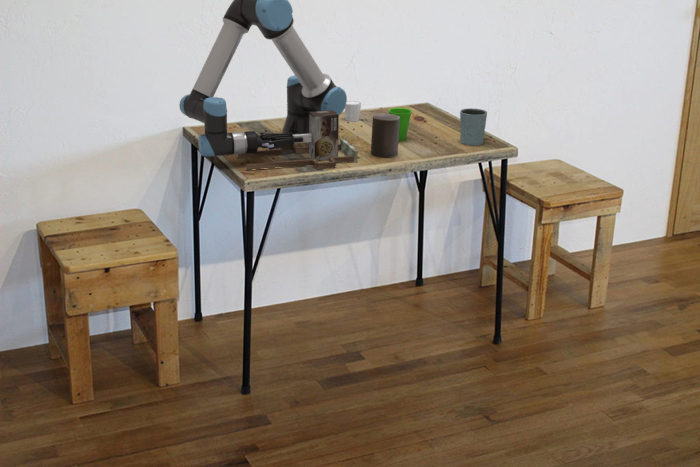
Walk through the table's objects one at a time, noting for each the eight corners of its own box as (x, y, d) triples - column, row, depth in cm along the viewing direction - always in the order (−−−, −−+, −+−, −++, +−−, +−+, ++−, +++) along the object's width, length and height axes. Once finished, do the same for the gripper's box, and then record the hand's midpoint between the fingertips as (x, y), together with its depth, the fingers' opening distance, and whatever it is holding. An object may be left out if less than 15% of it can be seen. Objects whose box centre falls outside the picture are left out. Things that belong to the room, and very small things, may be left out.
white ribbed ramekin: (363, 119, 371) (364, 102, 369) (354, 122, 366) (355, 105, 363) (349, 116, 375) (349, 99, 372) (340, 120, 369) (340, 103, 367)
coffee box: (332, 153, 326) (333, 109, 320) (338, 159, 321) (339, 114, 315) (308, 155, 323) (308, 111, 317) (313, 161, 318) (314, 115, 312)
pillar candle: (375, 158, 322) (377, 117, 317) (367, 150, 331) (369, 110, 325) (401, 157, 325) (404, 116, 319) (392, 149, 334) (395, 109, 328)
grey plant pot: (469, 147, 337) (472, 116, 333) (452, 140, 345) (454, 109, 341) (490, 143, 343) (493, 112, 338) (472, 137, 350) (475, 106, 346)
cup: (409, 143, 341) (410, 114, 337) (385, 141, 342) (386, 112, 338) (412, 136, 349) (413, 108, 345) (389, 134, 351) (390, 106, 347)
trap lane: (234, 153, 323) (234, 142, 322) (339, 145, 336) (339, 135, 334) (250, 175, 302) (250, 163, 301) (361, 165, 314) (362, 154, 313)
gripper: (240, 147, 317) (305, 142, 325) (249, 158, 306) (316, 153, 313) (240, 126, 314) (305, 122, 322) (248, 137, 303) (316, 132, 310)
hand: (310, 137), depth 318 cm, fingers closed
